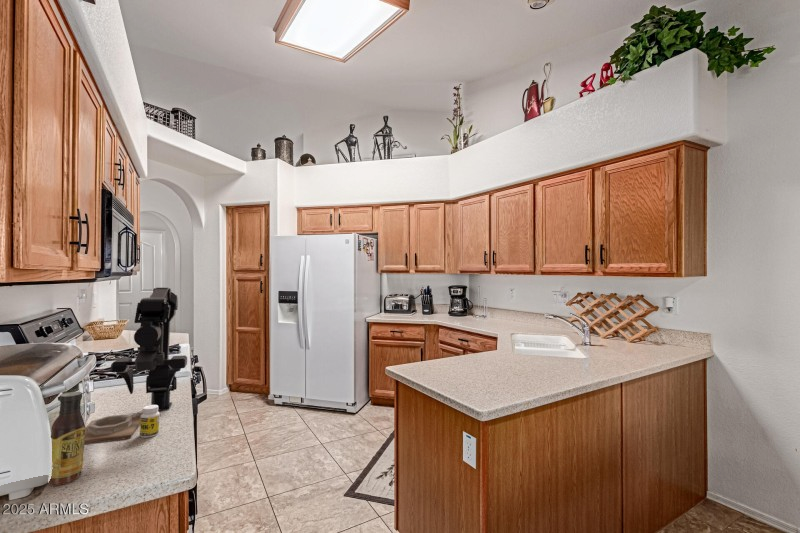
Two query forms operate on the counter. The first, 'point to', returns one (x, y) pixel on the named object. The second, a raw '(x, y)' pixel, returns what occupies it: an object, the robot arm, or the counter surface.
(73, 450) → the sauce bottle
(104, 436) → the brown board with ring
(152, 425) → the supplement bottle
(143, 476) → the counter surface
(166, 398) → the robot arm
